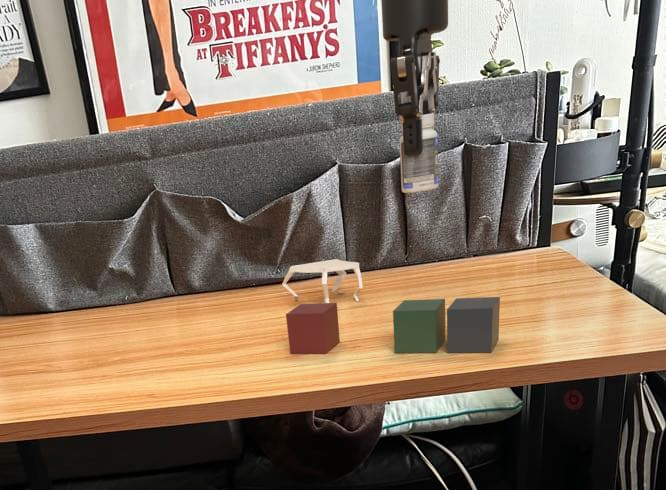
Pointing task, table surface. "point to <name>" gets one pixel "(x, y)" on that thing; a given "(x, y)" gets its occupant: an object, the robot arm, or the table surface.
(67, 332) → the table surface
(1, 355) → the table surface
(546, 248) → the table surface
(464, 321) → the slate block
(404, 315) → the green block
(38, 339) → the table surface
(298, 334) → the maroon block
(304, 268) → the white legged frame
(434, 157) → the pill bottle
